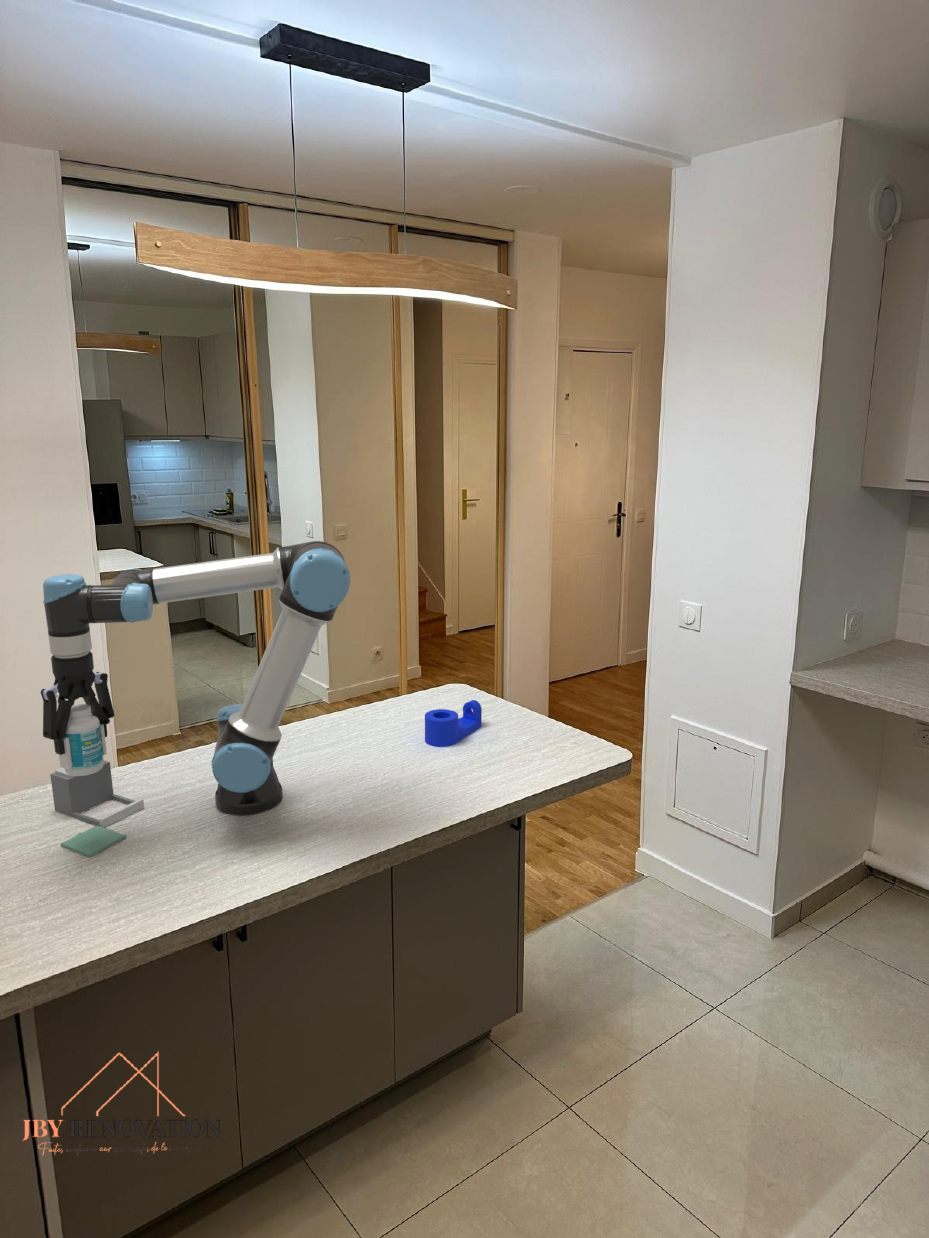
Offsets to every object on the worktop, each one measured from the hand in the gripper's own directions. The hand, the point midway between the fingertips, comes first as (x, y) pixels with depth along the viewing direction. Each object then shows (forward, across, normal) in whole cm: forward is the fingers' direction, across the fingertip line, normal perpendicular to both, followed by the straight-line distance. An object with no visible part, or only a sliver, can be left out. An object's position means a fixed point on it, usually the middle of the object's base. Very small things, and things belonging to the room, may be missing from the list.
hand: (84, 760), depth 174 cm
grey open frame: (+19, -10, -11) cm, 24 cm away
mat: (+19, 0, 0) cm, 19 cm away
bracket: (+19, -89, +36) cm, 98 cm away
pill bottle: (+2, 0, 0) cm, 2 cm away
